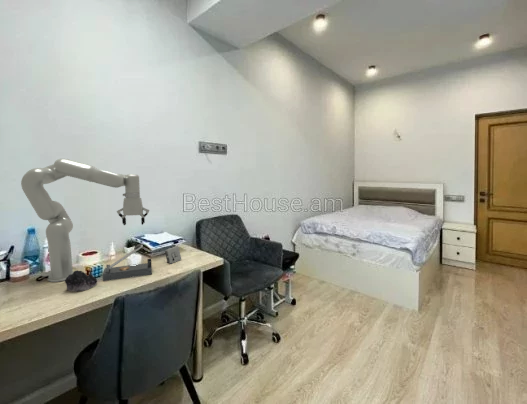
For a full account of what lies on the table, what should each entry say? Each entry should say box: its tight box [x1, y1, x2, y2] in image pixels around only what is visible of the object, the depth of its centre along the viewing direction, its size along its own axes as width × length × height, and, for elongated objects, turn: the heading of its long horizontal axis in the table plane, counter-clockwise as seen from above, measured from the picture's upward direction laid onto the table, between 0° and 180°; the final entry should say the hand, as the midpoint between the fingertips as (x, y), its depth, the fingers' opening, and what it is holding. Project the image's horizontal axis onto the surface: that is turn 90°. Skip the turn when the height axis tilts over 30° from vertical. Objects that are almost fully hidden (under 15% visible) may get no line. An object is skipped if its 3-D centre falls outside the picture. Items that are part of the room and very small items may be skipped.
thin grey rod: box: [109, 243, 143, 269], centre depth 150 cm, size 22×3×2 cm
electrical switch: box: [164, 245, 182, 264], centre depth 174 cm, size 9×5×9 cm, turn 152°
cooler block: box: [102, 258, 153, 282], centre depth 151 cm, size 24×9×7 cm, turn 114°
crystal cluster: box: [64, 270, 98, 292], centre depth 136 cm, size 13×14×10 cm
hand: (133, 224), depth 159 cm, fingers open, 9 cm apart
